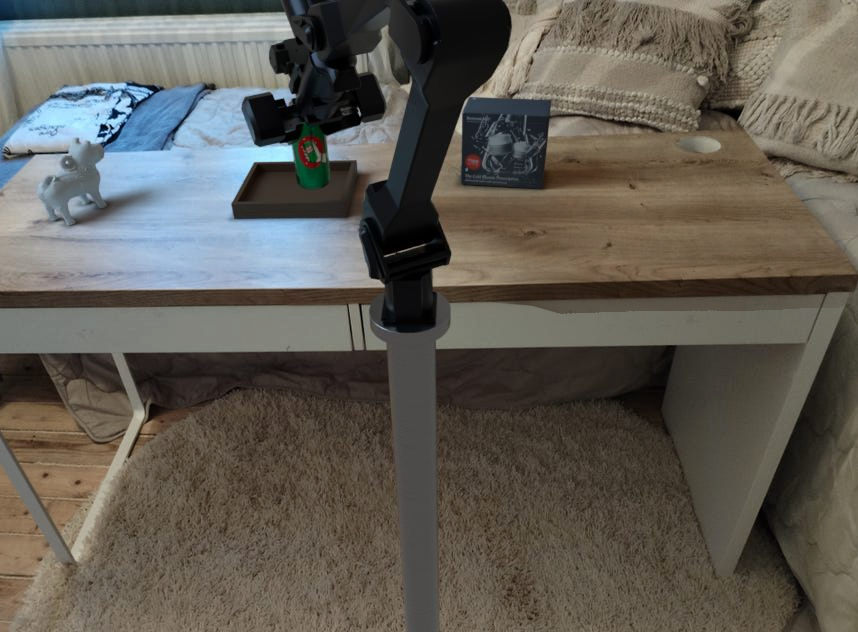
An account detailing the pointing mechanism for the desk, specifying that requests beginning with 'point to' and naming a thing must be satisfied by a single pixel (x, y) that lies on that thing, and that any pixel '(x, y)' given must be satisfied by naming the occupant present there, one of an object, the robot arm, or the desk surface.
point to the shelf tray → (294, 192)
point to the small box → (504, 142)
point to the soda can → (311, 156)
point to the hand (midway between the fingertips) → (305, 137)
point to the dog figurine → (73, 180)
